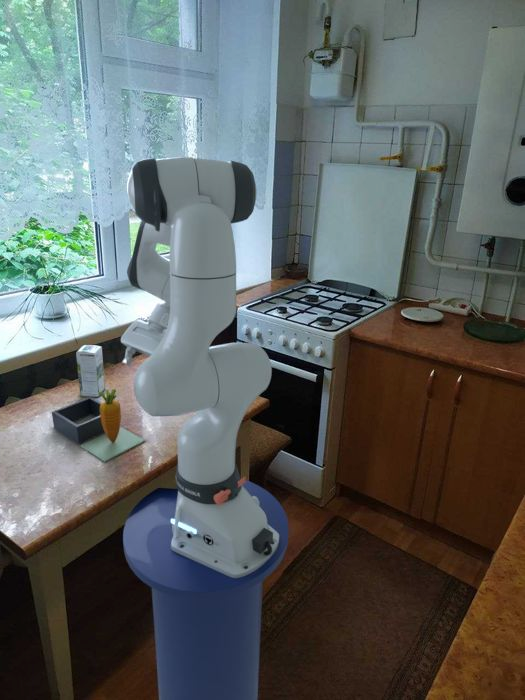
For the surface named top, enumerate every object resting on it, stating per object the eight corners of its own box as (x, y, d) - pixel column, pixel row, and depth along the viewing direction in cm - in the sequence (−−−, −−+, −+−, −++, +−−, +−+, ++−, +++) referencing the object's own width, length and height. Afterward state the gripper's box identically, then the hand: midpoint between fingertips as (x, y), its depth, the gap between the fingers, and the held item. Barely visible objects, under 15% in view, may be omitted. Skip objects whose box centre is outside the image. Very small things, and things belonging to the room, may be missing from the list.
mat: (145, 441, 127) (144, 440, 127) (104, 462, 118) (104, 460, 118) (120, 427, 132) (120, 426, 132) (80, 446, 124) (80, 445, 123)
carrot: (98, 445, 124) (93, 391, 118) (110, 435, 128) (105, 383, 122) (116, 449, 122) (111, 395, 117) (127, 439, 127) (122, 386, 121)
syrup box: (87, 387, 153) (82, 344, 148) (105, 388, 153) (101, 345, 148) (80, 396, 148) (74, 351, 143) (99, 397, 148) (95, 352, 142)
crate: (117, 426, 133) (116, 410, 131) (78, 444, 124) (76, 427, 123) (92, 412, 139) (90, 396, 138) (53, 428, 131) (51, 411, 129)
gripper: (132, 309, 132) (104, 353, 128) (185, 326, 120) (156, 375, 117) (146, 321, 137) (119, 363, 133) (199, 339, 125) (171, 386, 122)
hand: (137, 369), depth 125 cm, fingers open, 8 cm apart
